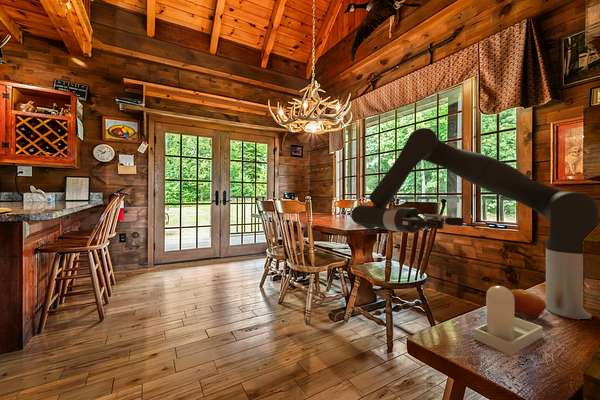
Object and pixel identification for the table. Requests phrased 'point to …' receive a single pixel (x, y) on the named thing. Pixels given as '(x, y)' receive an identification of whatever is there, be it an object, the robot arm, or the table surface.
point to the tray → (522, 336)
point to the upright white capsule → (500, 313)
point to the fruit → (527, 304)
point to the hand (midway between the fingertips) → (452, 223)
